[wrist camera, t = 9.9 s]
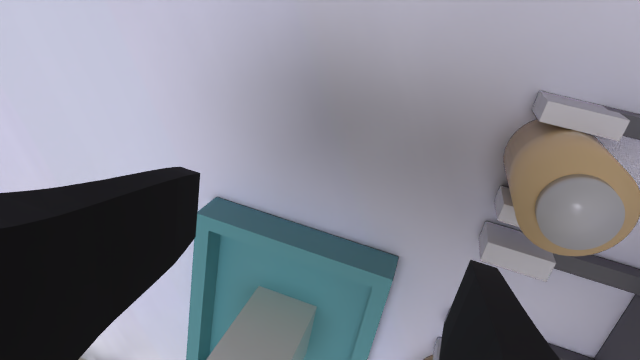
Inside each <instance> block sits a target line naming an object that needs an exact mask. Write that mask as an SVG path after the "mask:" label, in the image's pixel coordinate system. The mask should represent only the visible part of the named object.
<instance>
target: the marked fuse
mask: <svg viewBox="0 0 640 360" xmlns="http://www.w3.org/2000/svg"><path fill="white" fill-rule="evenodd" d="M316 309H317V307H316V306H314V305H311V304H308V303H305V302H303V301H300V300H297V299H294V298H291V297H289V296H286V295H283V294H280V293H278V292H275V291H272V290H269V289H266V288H264V287H261V286H259V287H258V288H257V289H256V291H255V292H254V294H253V295H252V296H251V298H250V299H249V301H248V302H247V303H246V305H245V306H244V308H243V309H242V310H241V312H240V313H239V315H238V316H237V317H236V319H235V320H234V322H233V323H232V324H231V326H230V327H229V329H228V330H227V331H226V333H225V334H224V336H223V337H222V338H221V340H220V341H219V343H218V344H217V345H216V347H215V348H214V350H213V351H212V352H211V354H210V355H209V357H208V358H207V359H206V360H303V359H304V357H305V355H306V352H307V348H308V344H309V340H310V335H311V331H312V326H313V322H314V317H315V313H316Z"/></svg>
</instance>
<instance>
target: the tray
mask: <svg viewBox="0 0 640 360" xmlns="http://www.w3.org/2000/svg"><path fill="white" fill-rule="evenodd" d="M398 258H399V257H397V256H394V255H391V254H388V253H385V252H382V251H379V250H376V249H373V248H370V247H367V246H364V245H361V244H358V243H355V242H352V241H349V240H346V239H343V238H340V237H337V236H334V235H331V234H328V233H325V232H322V231H319V230H315V229H312V228H309V227H306V226H303V225H300V224H297V223H294V222H291V221H288V220H285V219H282V218H279V217H276V216H273V215H270V214H267V213H264V212H261V211H258V210H255V209H252V208H249V207H246V206H243V205H240V204H237V203H233V202H230V201H227V200H224V199H221V198H218V197H216V198H214V199H213V200H212V201H211V202H209V203H208V204H207V205H206V206H204V207H203V208H202V209H201V210H199V211H198V212H197V225H196V237H195V238H194V252H193V267H192V282H191V297H190V311H189V326H188V341H187V356H186V360H206V359H207V358H208V357H209V355H210V354H211V352H212V351H213V350H214V348H215V347H216V345H217V344H218V343H219V341H220V340H221V338H222V337H223V336H224V334H225V333H226V331H227V330H228V329H229V327H230V326H231V324H232V323H233V322H234V320H235V319H236V317H237V316H238V315H239V313H240V312H241V310H242V309H243V308H244V306H245V305H246V303H247V302H248V301H249V299H250V298H251V296H252V295H253V294H254V292H255V291H256V289H257V288H258V287H259V286H261V287H264V288H266V289H269V290H272V291H275V292H278V293H280V294H283V295H286V296H289V297H291V298H294V299H297V300H300V301H303V302H305V303H308V304H311V305H314V306H316V307H317V309H316V313H315V317H314V322H313V326H312V331H311V335H310V340H309V344H308V348H307V352H306V355H305V357H304V359H303V360H367V359H368V355H369V352H370V349H371V346H372V343H373V340H374V337H375V334H376V331H377V328H378V325H379V321H380V318H381V315H382V312H383V309H384V306H385V303H386V300H387V297H388V294H389V291H390V287H391V284H392V281H393V278H394V274H395V270H396V266H397V262H398Z"/></svg>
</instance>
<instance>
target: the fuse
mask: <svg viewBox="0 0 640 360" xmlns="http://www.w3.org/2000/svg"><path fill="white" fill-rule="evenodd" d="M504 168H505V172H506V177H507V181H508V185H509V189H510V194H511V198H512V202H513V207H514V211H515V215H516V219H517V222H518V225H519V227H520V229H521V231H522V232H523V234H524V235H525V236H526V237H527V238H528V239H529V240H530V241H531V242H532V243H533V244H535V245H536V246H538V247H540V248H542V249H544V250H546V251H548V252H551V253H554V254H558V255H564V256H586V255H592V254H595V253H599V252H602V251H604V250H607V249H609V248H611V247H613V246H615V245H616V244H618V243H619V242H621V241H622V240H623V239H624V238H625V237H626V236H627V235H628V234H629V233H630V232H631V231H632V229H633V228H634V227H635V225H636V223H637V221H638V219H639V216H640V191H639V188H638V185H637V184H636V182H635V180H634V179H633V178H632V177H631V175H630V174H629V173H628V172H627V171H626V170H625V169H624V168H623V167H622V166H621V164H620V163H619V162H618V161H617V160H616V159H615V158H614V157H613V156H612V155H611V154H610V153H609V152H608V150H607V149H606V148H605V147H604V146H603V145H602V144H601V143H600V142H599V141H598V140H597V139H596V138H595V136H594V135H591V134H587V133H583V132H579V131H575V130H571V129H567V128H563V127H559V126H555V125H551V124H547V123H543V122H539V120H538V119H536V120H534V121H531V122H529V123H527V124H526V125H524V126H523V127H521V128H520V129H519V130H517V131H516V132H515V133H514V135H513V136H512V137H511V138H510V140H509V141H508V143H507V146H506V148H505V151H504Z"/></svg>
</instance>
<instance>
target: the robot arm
mask: <svg viewBox="0 0 640 360" xmlns="http://www.w3.org/2000/svg"><path fill="white" fill-rule="evenodd" d="M199 182H200V173H198V172H195V171H192V170H188V169H185V168H182V167H172V168H164V169H158V170H152V171H147V172H141V173H136V174H131V175H126V176H121V177H115V178H110V179H105V180H100V181H93V182H87V183H81V184H75V185H69V186H63V187H56V188H49V189H40V190H31V191H20V192H9V193H0V360H78V359H79V358H80V357H81V356H82V355H83V353H84V352H85V351H86V350H87V349H88V348H89V347H90V345H91V344H92V343H93V342H94V341H95V340H96V339H97V337H98V336H99V335H100V334H101V333H102V332H103V331H104V330H105V329H106V328H107V327H108V326H109V325H110V324H111V323H112V322H113V321H114V320H115V319H116V318H117V317H118V316H119V315H120V314H122V313H123V312H124V311H125V310H126V309H127V308H128V307H129V306H130V305H131V304H132V303H133V302H134V301H136V300H137V299H138V298H139V297H140V296H141V295H142V294H143V293H144V292H145V291H146V290H147V289H148V288H150V287H151V286H152V285H153V284H154V283H155V282H156V281H157V280H158V279H159V278H160V277H161V276H162V275H163V274H164V273H165V272H166V271H167V270H168V269H169V268H171V267H172V266H173V265H174V264H175V262H176V261H177V260H178V259H179V257H180V256H181V255H182V254H183V253H184V251H185V250H186V249H187V248H188V246H189V245H190V244H191V242H192V241H193V240H194V238H195V237H196V225H197V211H198V196H199ZM439 360H560V359H559V357H558V356H557V355H556V353H555V352H554V351H553V350H552V348H551V347H550V346H549V344H548V343H547V342H546V340H545V339H544V337H543V336H542V335H541V333H540V332H539V330H538V329H537V328H536V326H535V325H534V323H533V322H532V320H531V319H530V317H529V316H528V315H527V313H526V312H525V310H524V309H523V307H522V306H521V304H520V302H519V301H518V299H517V298H516V296H515V295H514V293H513V292H512V290H511V289H510V287H509V285H508V284H507V282H506V281H505V279H504V278H503V276H502V275H501V273H500V272H499V270H498V269H497V268H495V267H492V266H488V265H485V264H482V263H479V262H476V261H473V260H470V262H469V265H468V267H467V270H466V272H465V275H464V277H463V279H462V282H461V284H460V287H459V289H458V292H457V294H456V296H455V299H454V301H453V304H452V306H451V309H450V311H449V313H448V316H447V318H446V321H445V323H444V327H443V334H442V341H441V348H440V355H439Z"/></svg>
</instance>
